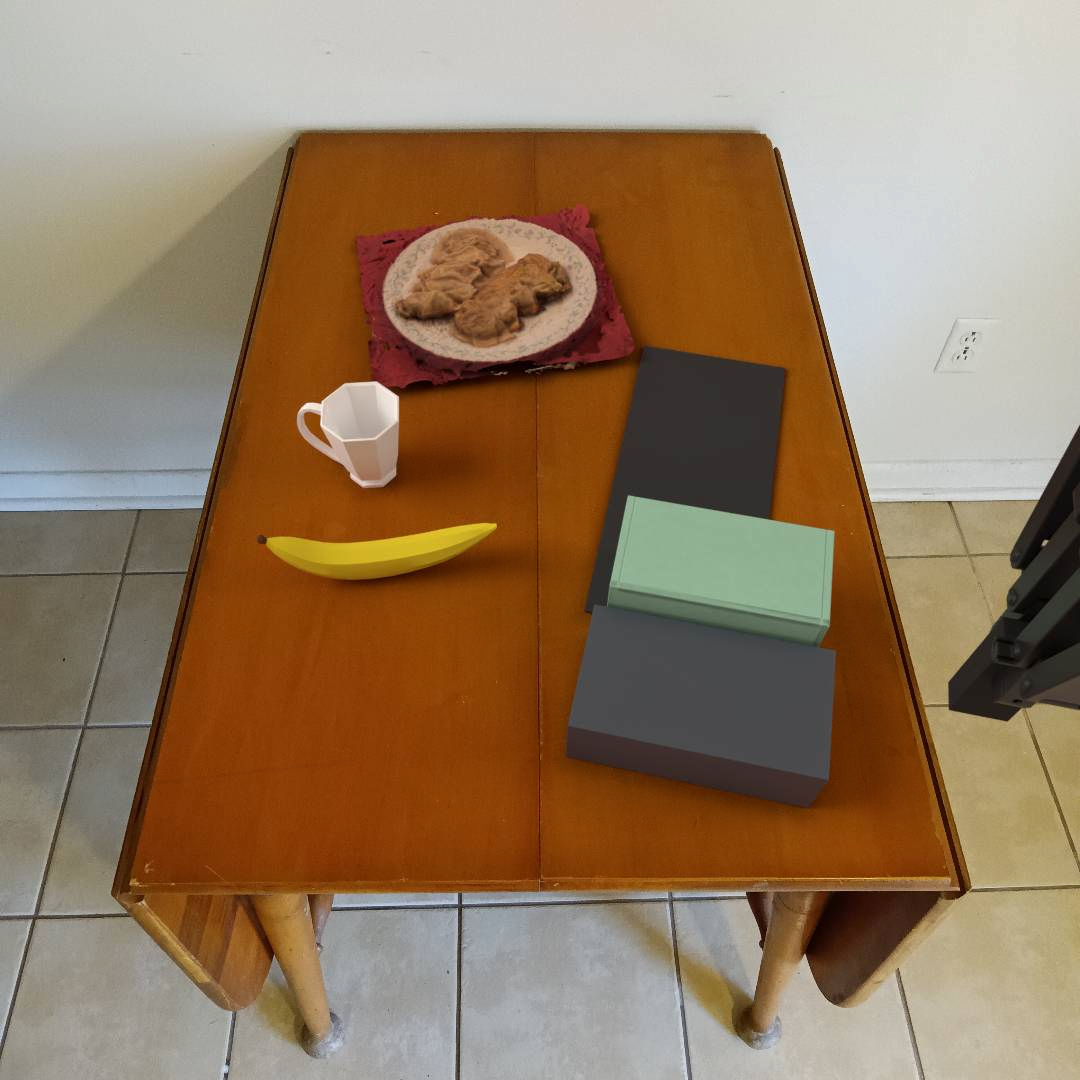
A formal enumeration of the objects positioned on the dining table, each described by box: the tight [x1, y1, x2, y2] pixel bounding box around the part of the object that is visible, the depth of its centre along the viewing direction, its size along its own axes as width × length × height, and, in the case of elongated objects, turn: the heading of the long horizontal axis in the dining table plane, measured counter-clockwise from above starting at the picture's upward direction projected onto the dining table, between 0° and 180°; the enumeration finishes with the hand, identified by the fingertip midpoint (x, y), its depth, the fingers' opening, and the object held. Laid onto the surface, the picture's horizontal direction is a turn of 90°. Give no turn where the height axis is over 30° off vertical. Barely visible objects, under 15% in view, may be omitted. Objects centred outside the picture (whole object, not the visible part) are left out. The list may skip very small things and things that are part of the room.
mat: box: [584, 345, 786, 614], centre depth 86 cm, size 14×31×1 cm, turn 168°
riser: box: [565, 604, 837, 809], centre depth 70 cm, size 18×10×6 cm, turn 77°
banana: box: [256, 522, 499, 581], centre depth 78 cm, size 3×19×6 cm, turn 97°
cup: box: [296, 381, 400, 489], centre depth 83 cm, size 7×10×8 cm
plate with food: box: [355, 203, 637, 389], centre depth 97 cm, size 24×26×3 cm
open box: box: [607, 495, 836, 648], centre depth 75 cm, size 16×8×8 cm
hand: (977, 701), depth 45 cm, fingers closed
